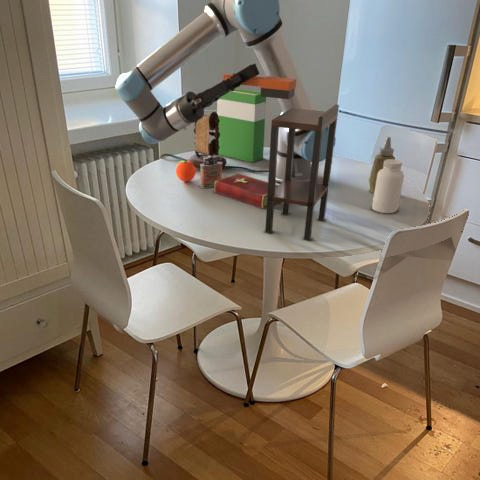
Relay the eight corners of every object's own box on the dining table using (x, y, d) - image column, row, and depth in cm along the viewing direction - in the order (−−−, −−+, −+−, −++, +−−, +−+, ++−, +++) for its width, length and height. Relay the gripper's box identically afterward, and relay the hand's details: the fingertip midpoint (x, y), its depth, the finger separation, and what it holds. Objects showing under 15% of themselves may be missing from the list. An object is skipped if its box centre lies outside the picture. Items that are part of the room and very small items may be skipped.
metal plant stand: (265, 232, 145) (272, 111, 127) (283, 212, 158) (292, 100, 140) (309, 240, 141) (322, 116, 123) (324, 219, 154) (339, 104, 136)
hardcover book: (262, 208, 160) (263, 195, 158) (214, 192, 172) (214, 180, 169) (285, 199, 168) (286, 186, 166) (237, 184, 179) (238, 172, 177)
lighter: (202, 188, 175) (202, 158, 169) (198, 185, 177) (198, 156, 171) (224, 185, 178) (224, 156, 172) (219, 182, 180) (219, 153, 175)
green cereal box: (217, 154, 210) (217, 90, 196) (228, 150, 215) (228, 87, 201) (252, 162, 202) (255, 95, 188) (263, 158, 207) (266, 93, 193)
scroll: (179, 167, 194) (177, 110, 182) (203, 159, 204) (202, 104, 192) (210, 175, 187) (210, 116, 176) (234, 166, 197) (234, 110, 186)
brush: (220, 92, 135) (220, 75, 133) (228, 89, 139) (228, 72, 137) (288, 99, 129) (290, 82, 127) (295, 96, 134) (296, 79, 131)
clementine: (170, 182, 180) (168, 161, 176) (179, 176, 185) (178, 156, 181) (190, 185, 177) (189, 164, 173) (199, 179, 183) (198, 159, 178)
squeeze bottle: (391, 196, 173) (402, 141, 162) (366, 194, 174) (376, 139, 163) (390, 189, 179) (400, 135, 169) (366, 187, 180) (376, 133, 170)
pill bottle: (368, 205, 166) (376, 157, 157) (392, 204, 166) (401, 157, 158) (375, 214, 159) (384, 165, 150) (400, 213, 160) (411, 165, 151)
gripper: (203, 118, 151) (270, 80, 138) (180, 128, 140) (251, 88, 127) (191, 93, 148) (259, 51, 136) (166, 101, 137) (237, 57, 124)
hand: (255, 69), depth 131 cm, fingers closed on brush, 2 cm apart
